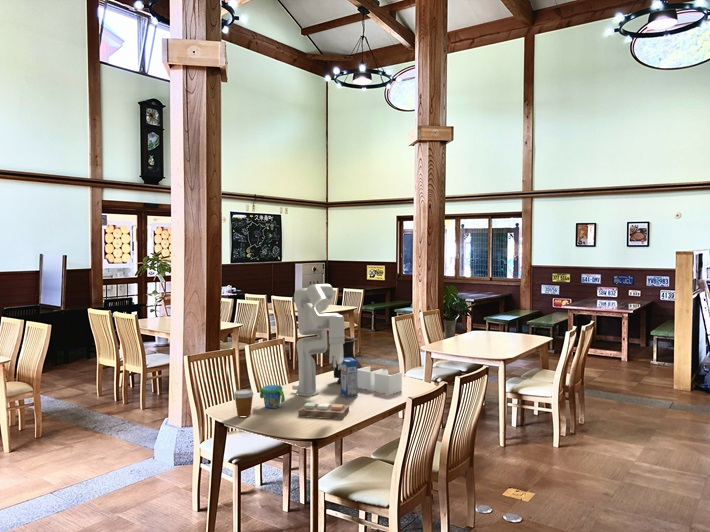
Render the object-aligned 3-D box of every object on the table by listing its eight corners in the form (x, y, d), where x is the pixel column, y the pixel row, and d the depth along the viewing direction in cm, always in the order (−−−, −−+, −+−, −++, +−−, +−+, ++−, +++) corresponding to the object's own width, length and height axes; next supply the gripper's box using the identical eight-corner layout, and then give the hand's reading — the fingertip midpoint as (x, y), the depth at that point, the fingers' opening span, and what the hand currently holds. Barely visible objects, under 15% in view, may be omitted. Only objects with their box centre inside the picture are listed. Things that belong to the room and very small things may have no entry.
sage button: (304, 410, 268) (304, 405, 268) (307, 407, 273) (307, 402, 273) (313, 411, 267) (313, 405, 267) (316, 408, 272) (316, 403, 272)
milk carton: (357, 396, 299) (357, 360, 298) (347, 398, 297) (346, 361, 296) (351, 392, 308) (350, 357, 308) (340, 393, 306) (340, 358, 305)
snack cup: (290, 407, 281) (289, 387, 280) (274, 412, 273) (274, 391, 272) (270, 401, 291) (270, 383, 291) (254, 406, 283) (254, 387, 283)
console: (298, 416, 265) (298, 409, 265) (306, 409, 277) (306, 402, 277) (343, 419, 260) (343, 412, 260) (349, 411, 272) (349, 405, 271)
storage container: (356, 388, 318) (356, 369, 318) (369, 384, 326) (369, 366, 326) (389, 395, 301) (389, 375, 301) (401, 391, 309) (401, 372, 309)
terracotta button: (331, 412, 265) (331, 406, 265) (334, 409, 270) (334, 403, 270) (341, 412, 264) (341, 407, 264) (343, 409, 268) (343, 404, 268)
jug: (365, 384, 325) (365, 334, 324) (335, 387, 320) (335, 336, 319) (355, 376, 345) (354, 329, 344) (327, 379, 340) (326, 331, 339)
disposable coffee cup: (244, 419, 261) (244, 395, 260) (230, 416, 266) (229, 392, 265) (258, 414, 269) (257, 390, 268) (243, 411, 274) (243, 388, 273)
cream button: (317, 411, 266) (317, 406, 266) (320, 408, 271) (320, 403, 271) (327, 412, 265) (327, 406, 265) (330, 409, 270) (330, 403, 270)
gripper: (333, 337, 274) (334, 374, 274) (325, 342, 259) (325, 380, 259) (347, 338, 272) (348, 374, 272) (340, 342, 257) (341, 381, 258)
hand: (337, 377), depth 266 cm, fingers closed
